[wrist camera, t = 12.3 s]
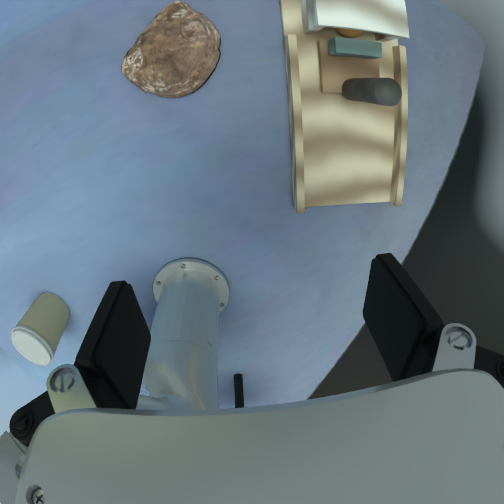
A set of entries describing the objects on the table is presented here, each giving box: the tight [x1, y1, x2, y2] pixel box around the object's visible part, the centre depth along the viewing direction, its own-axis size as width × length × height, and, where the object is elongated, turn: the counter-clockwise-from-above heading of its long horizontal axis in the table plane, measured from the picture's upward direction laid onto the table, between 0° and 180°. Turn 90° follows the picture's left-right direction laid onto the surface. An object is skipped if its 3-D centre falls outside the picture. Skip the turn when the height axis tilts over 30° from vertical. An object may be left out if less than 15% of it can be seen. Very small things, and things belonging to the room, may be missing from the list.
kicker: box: [317, 37, 402, 106], centre depth 26 cm, size 8×8×11 cm
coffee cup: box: [11, 292, 70, 365], centre depth 44 cm, size 9×9×12 cm
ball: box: [336, 28, 364, 38], centre depth 26 cm, size 4×4×4 cm
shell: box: [121, 1, 221, 98], centre depth 29 cm, size 12×13×4 cm
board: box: [279, 0, 409, 214], centre depth 31 cm, size 30×16×8 cm, turn 5°
